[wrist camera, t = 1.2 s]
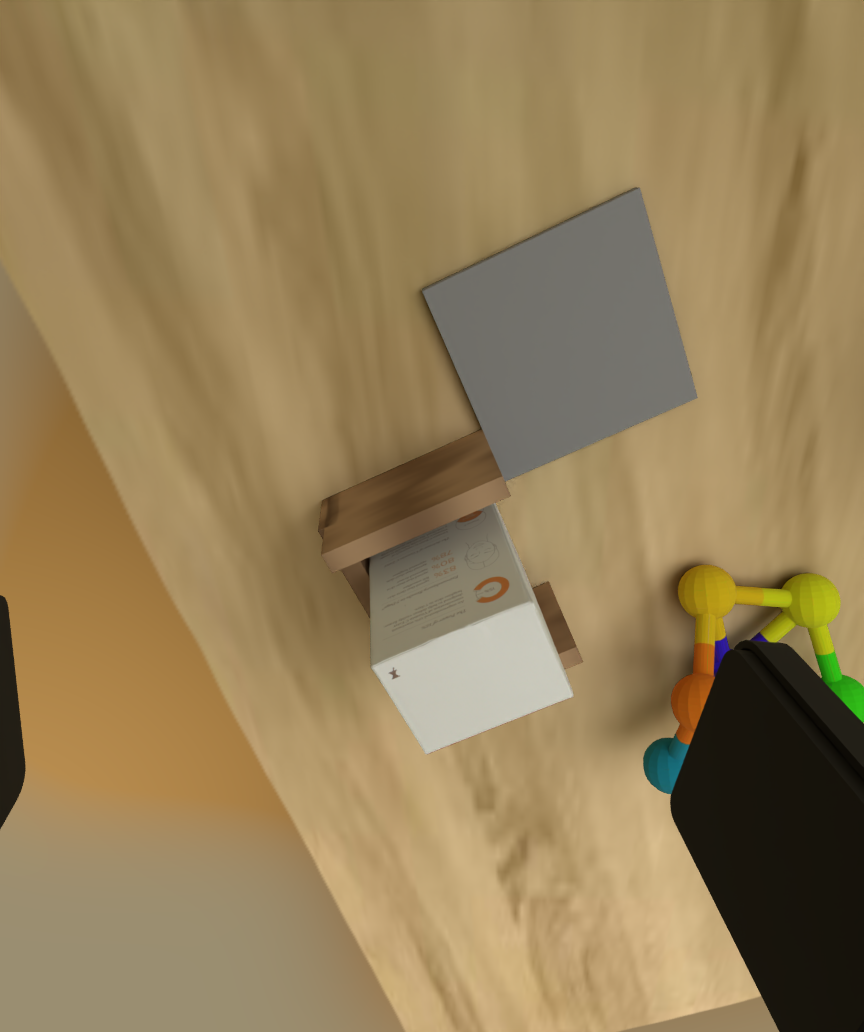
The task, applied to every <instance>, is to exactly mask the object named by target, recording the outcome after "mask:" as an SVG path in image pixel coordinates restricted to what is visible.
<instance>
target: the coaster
mask: <svg viewBox="0 0 864 1032" xmlns="http://www.w3.org/2000/svg"><path fill="white" fill-rule="evenodd" d="M421 290H422V292H423V294H424V297H425V299H426V301H427V304H428V306H429V308H430V310H431V313H432V315H433V317H434V320H435V322H436V324H437V327H438V329H439V331H440V333H441V336H442V338H443V340H444V343H445V345H446V347H447V349H448V352H449V354H450V356H451V359H452V361H453V363H454V366H455V368H456V370H457V372H458V375H459V377H460V379H461V382H462V384H463V386H464V389H465V391H466V393H467V395H468V398H469V400H470V402H471V405H472V407H473V409H474V411H475V414H476V416H477V418H478V421H479V423H480V425H481V428H482V430H483V432H484V434H485V437H486V439H487V441H488V444H489V446H490V448H491V451H492V453H493V455H494V457H495V460H496V462H497V464H498V467H499V469H500V471H501V474H502V476H503V478H504V480H505V481H507V480H510V479H512V478H514V477H517V476H519V475H521V474H523V473H526V472H528V471H530V470H533V469H535V468H537V467H540V466H542V465H544V464H546V463H549V462H551V461H553V460H556V459H558V458H560V457H563V456H565V455H567V454H569V453H572V452H574V451H576V450H579V449H581V448H583V447H586V446H588V445H590V444H592V443H595V442H597V441H599V440H602V439H604V438H606V437H609V436H611V435H613V434H615V433H618V432H620V431H622V430H625V429H627V428H629V427H632V426H634V425H636V424H639V423H641V422H643V421H645V420H648V419H650V418H652V417H655V416H657V415H659V414H662V413H664V412H666V411H668V410H671V409H673V408H675V407H678V406H680V405H682V404H685V403H687V402H689V401H691V400H694V399H696V398H698V397H697V394H696V390H695V386H694V383H693V379H692V376H691V372H690V368H689V365H688V361H687V357H686V354H685V350H684V346H683V343H682V339H681V336H680V332H679V328H678V325H677V321H676V317H675V314H674V310H673V307H672V303H671V299H670V296H669V292H668V288H667V285H666V281H665V277H664V274H663V270H662V267H661V263H660V259H659V256H658V252H657V248H656V245H655V241H654V238H653V234H652V230H651V227H650V223H649V219H648V216H647V212H646V208H645V205H644V201H643V198H642V194H641V190H640V188H637V187H636V188H633V189H631V190H629V191H627V192H625V193H623V194H621V195H619V196H617V197H615V198H612V199H610V200H608V201H606V202H604V203H602V204H600V205H598V206H596V207H594V208H591V209H589V210H587V211H585V212H583V213H581V214H579V215H577V216H575V217H572V218H570V219H568V220H566V221H564V222H562V223H560V224H558V225H556V226H554V227H551V228H549V229H547V230H545V231H543V232H541V233H539V234H537V235H535V236H533V237H530V238H528V239H526V240H524V241H522V242H520V243H518V244H516V245H514V246H512V247H509V248H507V249H505V250H503V251H501V252H499V253H497V254H495V255H493V256H491V257H488V258H486V259H484V260H482V261H480V262H478V263H476V264H474V265H472V266H470V267H467V268H465V269H463V270H461V271H459V272H457V273H455V274H453V275H451V276H448V277H446V278H444V279H442V280H440V281H438V282H436V283H434V284H432V285H430V286H427V287H425V288H423V289H421Z"/></svg>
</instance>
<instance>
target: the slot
mask: <svg viewBox="0 0 864 1032" xmlns="http://www.w3.org/2000/svg"><path fill="white" fill-rule="evenodd" d="M510 496H511V495H510V493H509V490H508V488H507V486H506V483H505V481H504V479H503V476H502V474H501V472H500V469H499V467H498V465H497V462H496V460H495V458H494V455H493V453H492V451H491V448H490V446H489V444H488V441H487V439H486V437H485V434H484V432H483V430H482V429H481V430H479V431H477V432H475V433H472V434H470V435H468V436H466V437H463V438H461V439H459V440H457V441H454V442H452V443H450V444H448V445H445V446H443V447H441V448H439V449H436V450H434V451H432V452H430V453H427V454H425V455H423V456H421V457H418V458H416V459H414V460H412V461H409V462H407V463H405V464H403V465H400V466H398V467H396V468H394V469H392V470H389V471H387V472H385V473H383V474H380V475H378V476H376V477H374V478H371V479H369V480H367V481H365V482H362V483H360V484H358V485H356V486H353V487H351V488H349V489H347V490H344V491H342V492H340V493H338V494H335V495H333V496H331V497H329V498H326V499H324V500H322V507H321V514H320V521H319V528H318V532H319V534H320V535H321V537H322V539H323V544H322V552H321V556H322V557H323V559H324V561H325V562H326V564H327V566H328V567H329V569H330V571H331V572H332V573H334V572H336V571H338V570H342V572H343V574H344V575H345V577H346V579H347V581H348V582H349V584H350V586H351V587H352V589H353V591H354V592H355V594H356V596H357V597H358V599H359V601H360V602H361V604H362V606H363V607H364V609H365V611H366V612H367V614H368V616H369V617H370V576H369V557H371V556H373V555H376V554H378V553H380V552H382V551H385V550H387V549H389V548H392V547H394V546H396V545H399V544H401V543H403V542H406V541H408V540H410V539H413V538H415V537H417V536H420V535H422V534H424V533H427V532H429V531H431V530H433V529H436V528H438V527H440V526H443V525H445V524H447V523H450V522H452V521H454V520H457V519H459V518H461V517H464V516H466V515H468V514H471V513H473V512H475V511H478V510H480V509H482V508H484V507H487V506H489V505H491V504H494V503H496V502H498V501H501V500H503V499H505V498H508V497H510ZM532 589H533V592H534V594H535V597H536V600H537V602H538V605H539V607H540V609H541V612H542V614H543V617H544V620H545V622H546V625H547V627H548V630H549V632H550V635H551V637H552V640H553V642H554V645H555V647H556V650H557V652H558V655H559V657H560V660H561V662H562V665H563V667H564V670H565V669H567V668H570V667H572V666H575V665H577V664H580V663H582V662H583V660H582V658H581V656H580V653H579V651H578V649H577V646H576V644H575V642H574V639H573V637H572V635H571V632H570V630H569V628H568V625H567V623H566V621H565V618H564V616H563V614H562V611H561V609H560V607H559V604H558V602H557V600H556V597H555V595H554V593H553V591H552V588H551V586H550V584H549V582H547V583H544V584H542V585H539V586H537V587H535V588H532Z"/></svg>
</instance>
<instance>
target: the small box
mask: <svg viewBox="0 0 864 1032" xmlns="http://www.w3.org/2000/svg"><path fill="white" fill-rule="evenodd" d="M369 576H370V659H371V669H372V670H373V671H374V673H375V674H376V676H377V677H378V679H379V680H380V682H381V684H382V685H383V687H384V688H385V690H386V691H387V693H388V694H389V696H390V698H391V699H392V701H393V702H394V704H395V706H396V707H397V709H398V710H399V712H400V714H401V715H402V717H403V718H404V720H405V722H406V723H407V725H408V726H409V728H410V730H411V731H412V733H413V734H414V736H415V738H416V739H417V741H418V742H419V744H420V746H421V747H422V749H423V751H424V752H425V754H430V753H432V752H434V751H437V750H439V749H442V748H444V747H447V746H449V745H452V744H455V743H457V742H459V741H462V740H464V739H467V738H470V737H472V736H475V735H477V734H480V733H482V732H485V731H487V730H490V729H492V728H495V727H498V726H500V725H503V724H505V723H508V722H510V721H513V720H515V719H518V718H520V717H523V716H525V715H528V714H531V713H533V712H536V711H538V710H541V709H543V708H546V707H548V706H551V705H554V704H556V703H559V702H561V701H564V700H566V699H569V698H572V697H573V691H572V688H571V685H570V683H569V680H568V677H567V675H566V672H565V670H564V667H563V665H562V662H561V660H560V657H559V655H558V652H557V650H556V647H555V645H554V642H553V640H552V637H551V635H550V632H549V630H548V627H547V625H546V622H545V620H544V617H543V614H542V612H541V609H540V607H539V605H538V602H537V600H536V597H535V594H534V592H533V589H532V587H531V585H530V582H529V580H528V577H527V575H526V572H525V570H524V567H523V565H522V563H521V560H520V558H519V556H518V553H517V551H516V549H515V546H514V544H513V542H512V540H511V537H510V535H509V533H508V530H507V528H506V526H505V524H504V521H503V519H502V517H501V515H500V512H499V510H498V508H497V506H496V503H494V504H491V505H489V506H487V507H484V508H482V509H480V510H478V511H475V512H473V513H471V514H468V515H466V516H464V517H461V518H459V519H457V520H454V521H452V522H450V523H447V524H445V525H443V526H440V527H438V528H436V529H433V530H431V531H429V532H427V533H424V534H422V535H420V536H417V537H415V538H413V539H410V540H408V541H406V542H403V543H401V544H399V545H396V546H394V547H392V548H389V549H387V550H385V551H382V552H380V553H378V554H376V555H373V556H371V557H369Z"/></svg>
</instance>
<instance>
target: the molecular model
mask: <svg viewBox="0 0 864 1032" xmlns="http://www.w3.org/2000/svg"><path fill="white" fill-rule="evenodd" d="M678 597H679V600H680V602H681V605H682V607H683V608H684V609H685V611H686V612H687V613H689V614H690V615H691V616H693V617H695V618H696V623H695V644H694V664H693V674H691V675H687V676H686V677H684V678H683V679H681V680H680V681H679V682H678V683H677V684H676V685H675V687H674V689H673V691H672V695H671V704H672V709H673V713H674V715H675V717H676V719H677V720H678V722H679V723H680V726H679V728H678V730H677V732H676V734H675V736H674V738H661V739H658V740H656V741H654V742H653V743H652V744H651V745H650V746H649V747H648V748H647V750H646V751H645V754H644V758H643V765H644V772H645V775H646V777H647V779H648V780H649V782H650V783H651V784H652V785H653V786H654V787H656V788H657V789H658V790H659V791H662V792H664V793H667V794H672V790H673V787H674V785H675V782H676V779H677V777H678V774H679V772H680V769H681V766H682V764H683V761H684V758H685V756H686V753H687V750H688V748H689V745H690V742H691V740H692V737H693V734H694V732H695V729H696V726H697V724H698V721H699V719H700V716H701V713H702V711H703V708H704V705H705V703H706V700H707V697H708V695H709V692H710V689H711V687H712V684H713V681H714V679H715V676H716V673H717V671H718V668H719V666H720V663H721V660H722V658H723V656H724V654H725V653H726V652H727V651H729V650H733V649H729V646H728V641H727V637H726V632H725V628H724V623H723V619H722V617H723V616H725V615H727V614H728V613H729V612H730V610H731V609H732V607H733V605H734V604H745V605H758V606H771V607H781V609H782V612H781V613H780V614H779V615H778V616H777V617H776V618H775V619H773V620H772V621H771V622H770V623H769V624H768V625H767V626H766V627H764V628H763V629H762V630H761V631H760V632H759V633H758V634H757V635H755V636H754V637H753V638H752V639H751V641H764V642H778V641H779V640H780V639H781V638H782V637H783V636H784V635H786V634H787V633H788V632H789V631H790V630H791V629H792V628H794V627H795V626H796V625H799V626H802V627H806V628H808V631H809V635H810V638H811V641H812V645H813V648H814V651H815V655H816V658H817V662H818V665H819V668H820V672H821V675H822V678H821V679H822V680H823V681H824V682H825V683H826V684H827V685H828V687H829V688H830V689H831V690H832V691H833V692H834V693H835V694H836V695H837V696H838V697H839V698H840V699H841V700H842V701H843V702H844V703H845V704H846V705H847V707H848V708H849V709H850V710H851V711H852V712H853V713H854V714H855V715H856V716H857V717H858V718H859V719H860V720H861V721H862V722H864V687H863V686H862V685H861V684H860V683H859V682H858V681H856V680H855V679H853V678H851V677H848V676H845V675H842V674H841V671H840V667H839V664H838V660H837V657H836V654H835V650H834V647H833V643H832V640H831V637H830V633H829V630H828V626H827V624H828V623H830V622H831V621H832V620H833V619H834V618H835V617H836V616H837V614H838V613H839V609H840V596H839V593H838V591H837V589H836V587H835V586H834V584H833V583H832V582H831V581H829V580H828V579H827V578H825V577H823V576H821V575H817V574H813V573H805V574H799V575H797V576H794V577H793V578H791V579H790V580H788V581H787V582H786V583H785V584H784V586H783V587H782V589H771V588H758V587H745V586H735V583H734V581H733V579H732V578H731V576H730V575H729V574H728V573H727V572H726V571H724V570H723V569H721V568H719V567H716V566H712V565H699V566H696V567H694V568H691V569H690V570H688V571H687V572H686V573H685V574H684V575H683V576H682V578H681V580H680V582H679V585H678Z"/></svg>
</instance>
